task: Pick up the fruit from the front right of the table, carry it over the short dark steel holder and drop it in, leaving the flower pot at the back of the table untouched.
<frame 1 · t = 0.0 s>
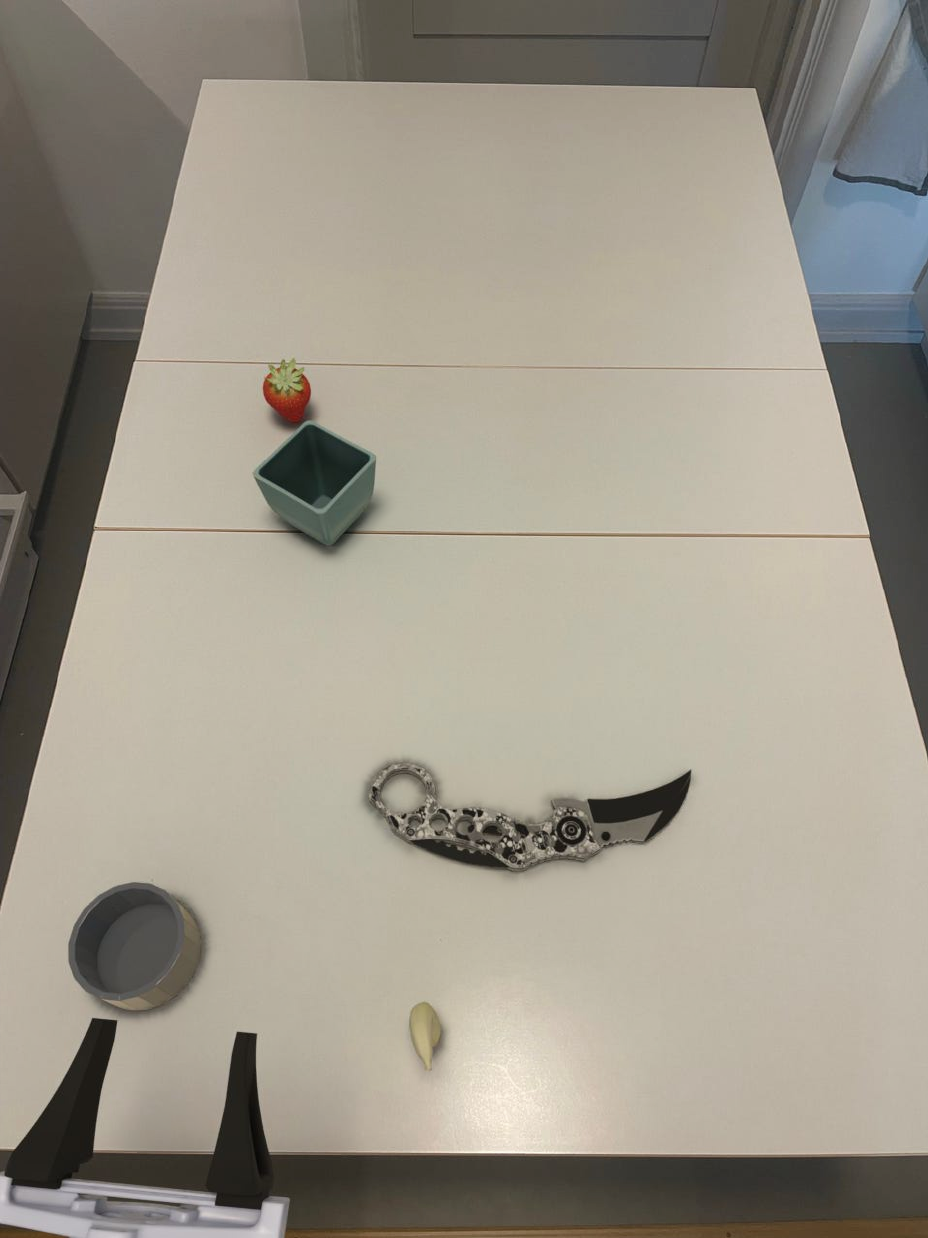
hand: (176, 1025, 47), 23 cm above the table, tool horizontal, fingers open, 7 cm apart
holder: (147, 953, 71), on the table
fruit 2: (293, 419, 101), on the table
fruit: (429, 1043, 68), on the table
knife: (530, 817, 77), on the table
flower pot: (325, 522, 93), on the table
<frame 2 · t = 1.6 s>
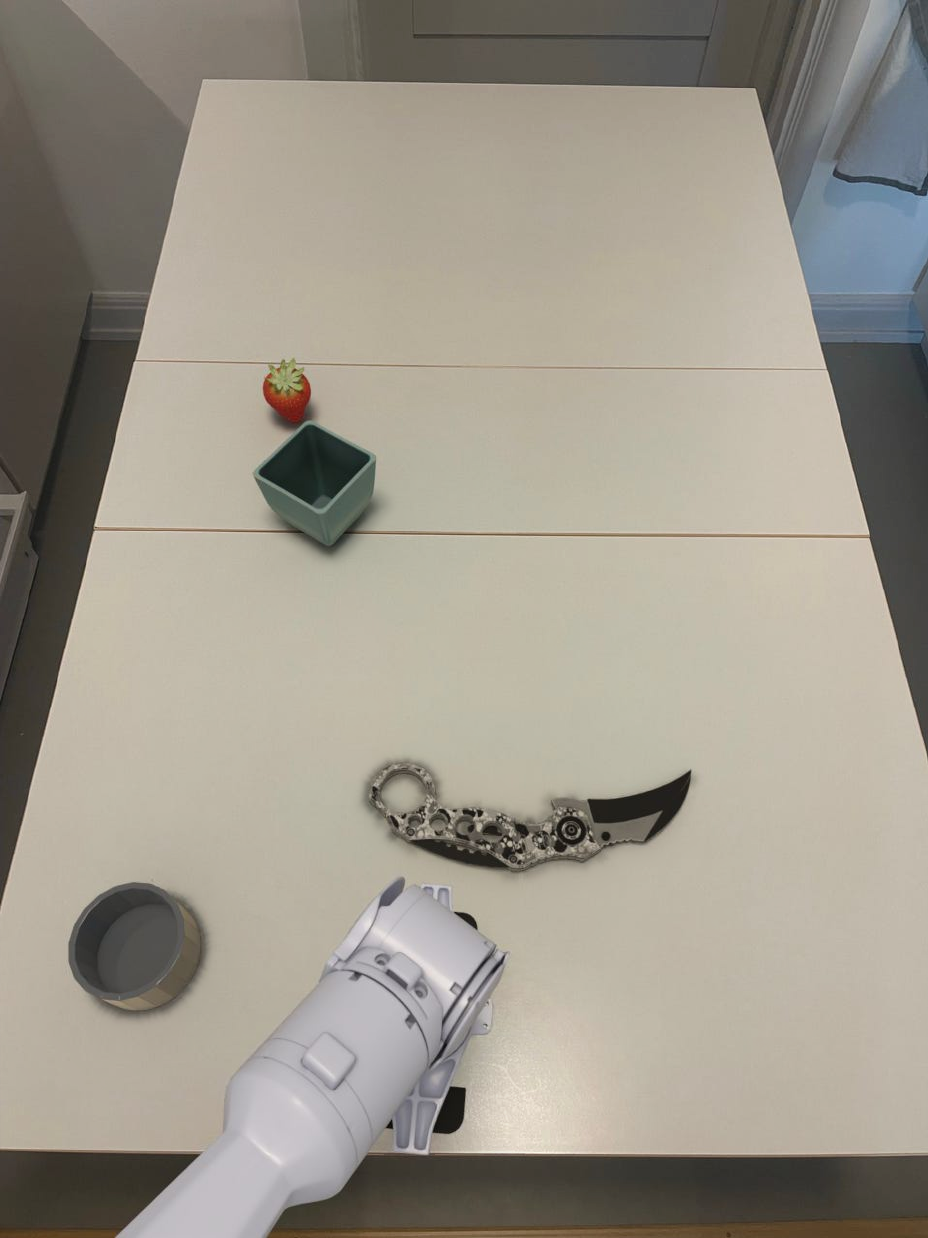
hand: (427, 1028, 60), 9 cm above the table, tool pointing down, fingers open, 7 cm apart
nothing on the table moved.
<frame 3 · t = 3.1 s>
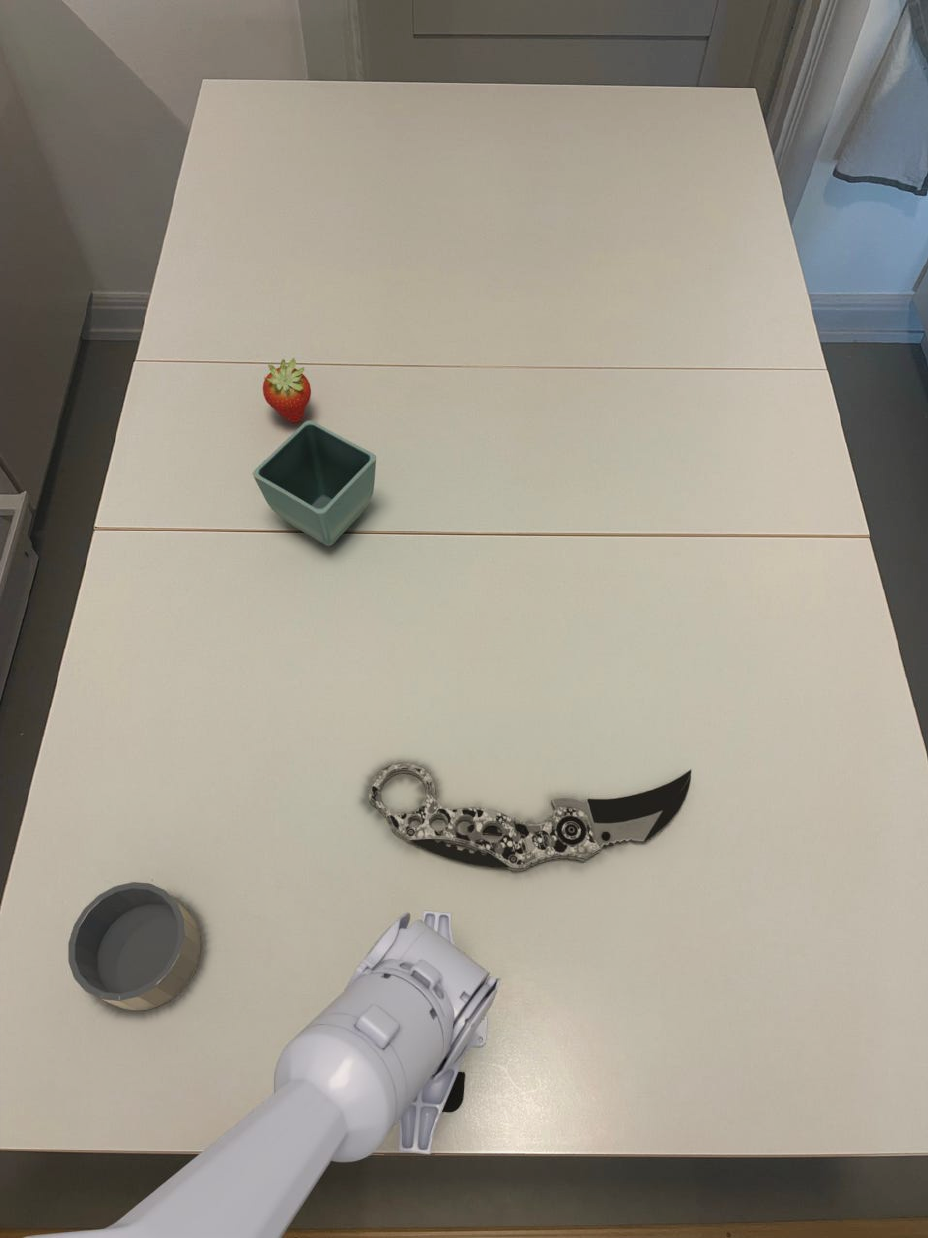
hand: (428, 1039, 66), 2 cm above the table, tool pointing down, fingers closed on fruit, 4 cm apart
fruit: (429, 1042, 68), on the table, touching gripper
everything else where it was.
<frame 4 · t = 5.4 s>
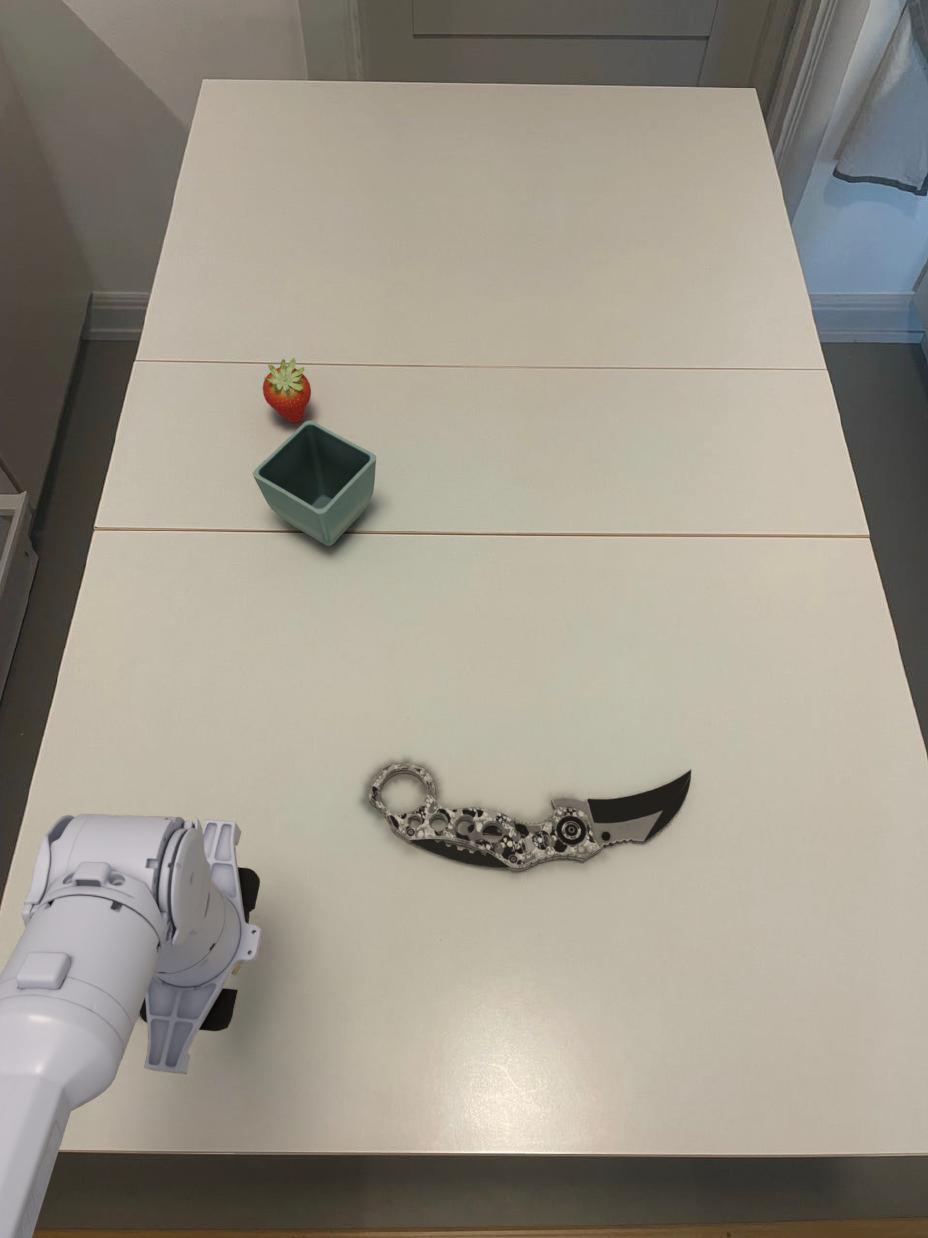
hand: (224, 964, 61), 9 cm above the table, tool pointing down, fingers closed on fruit, 4 cm apart
fruit: (231, 970, 63), point 7 cm above the table, touching gripper
everything else where it was.
when the fingers open (5 cm above the table, at t = 7.8 s): fruit drops 1 cm, resting on holder.
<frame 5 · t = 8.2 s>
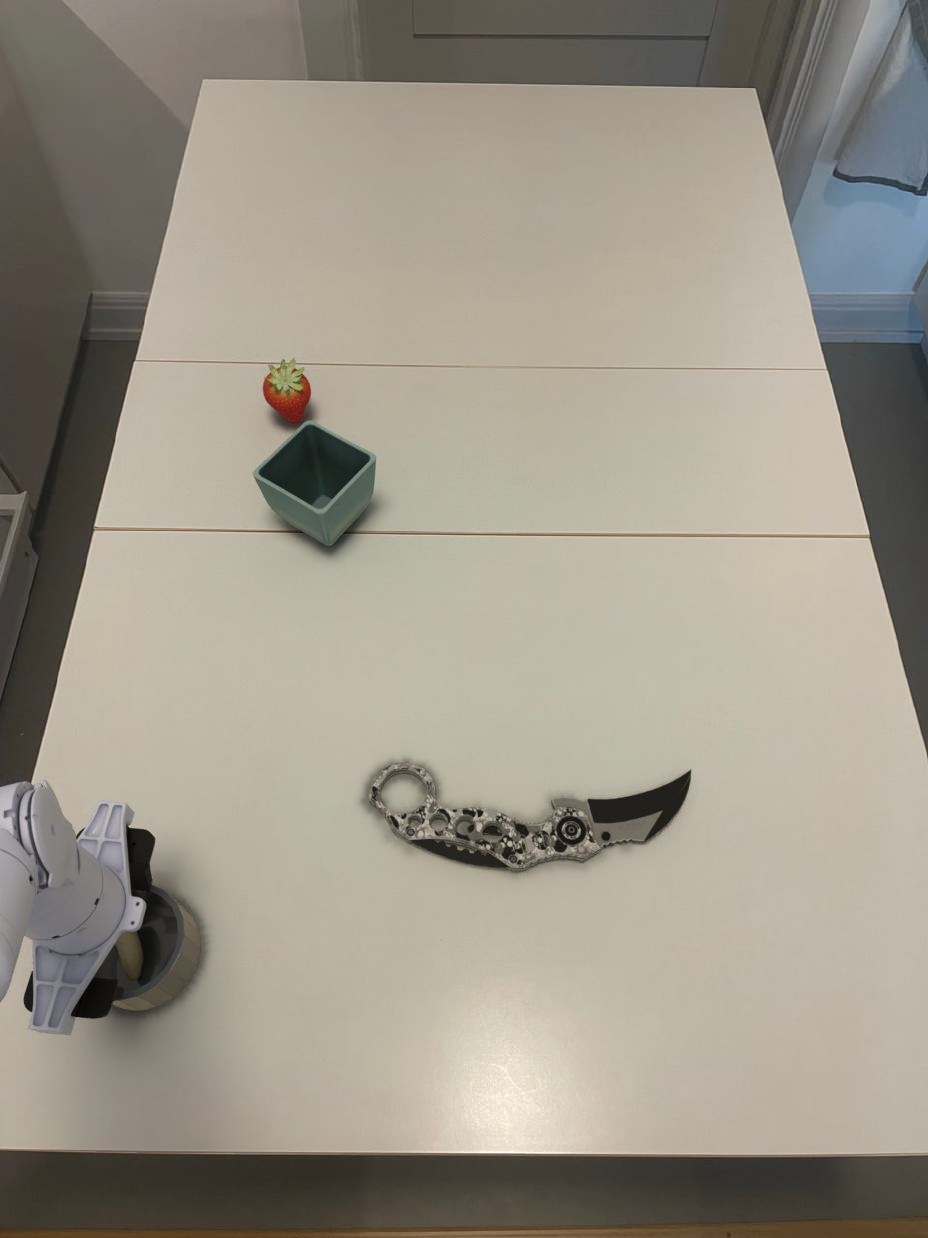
hand: (124, 938, 65), 6 cm above the table, tool pointing down, fingers open, 7 cm apart
fruit: (132, 981, 68), point 2 cm above the table, touching holder
everything else where it was.
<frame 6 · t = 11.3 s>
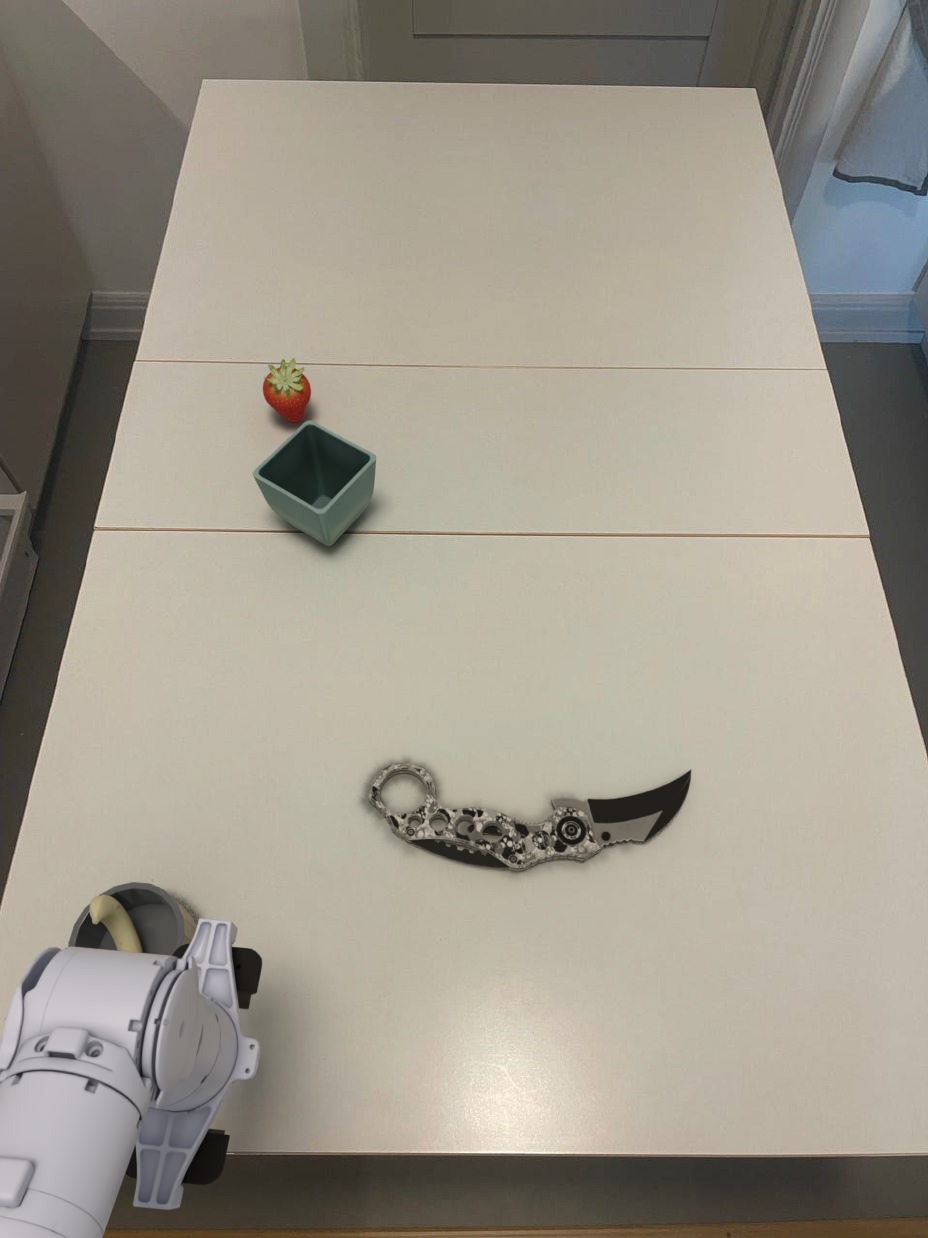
hand: (221, 1066, 57), 10 cm above the table, tool pointing down, fingers open, 7 cm apart
nothing on the table moved.
at the end: fruit 2.3 cm off-centre in the holder, point 1.5 cm above the holder's base; the gripper is holding nothing; flower pot moved 0.2 cm from its start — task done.
